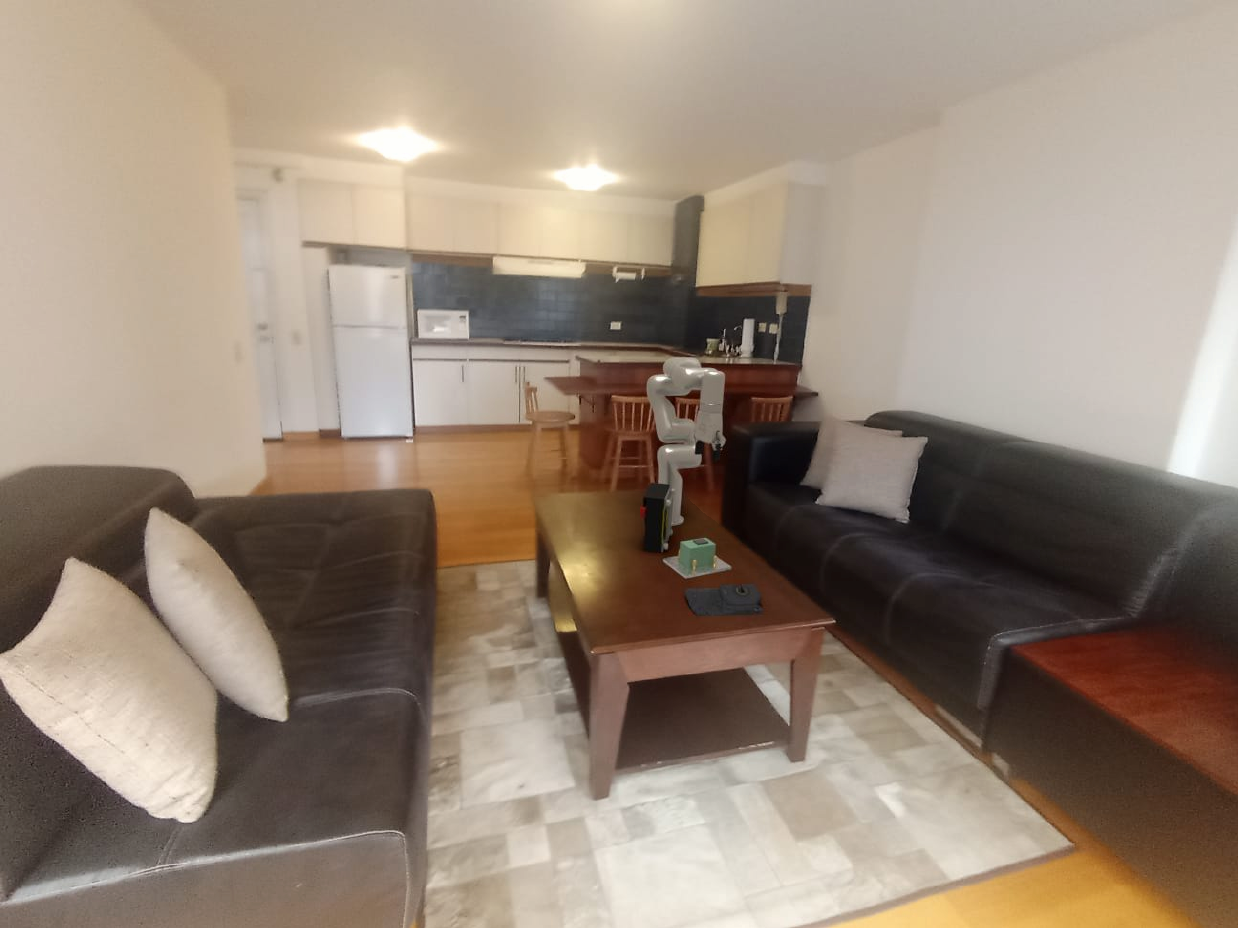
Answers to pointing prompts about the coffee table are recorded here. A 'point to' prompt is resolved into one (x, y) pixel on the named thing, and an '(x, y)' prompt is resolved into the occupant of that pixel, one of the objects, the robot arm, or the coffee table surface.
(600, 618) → the coffee table surface
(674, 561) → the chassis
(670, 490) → the electrical component
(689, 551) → the green block
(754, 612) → the dark slate chunk
